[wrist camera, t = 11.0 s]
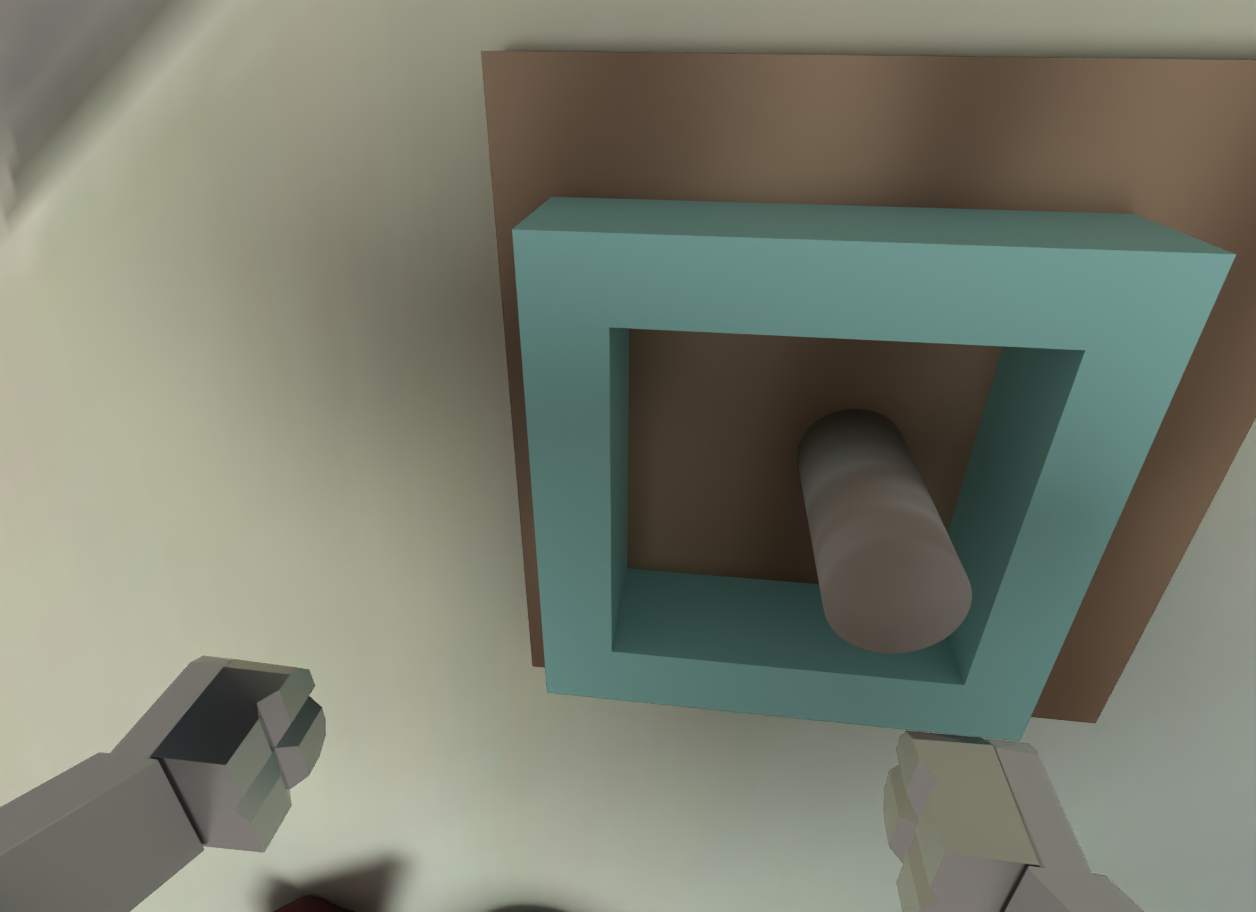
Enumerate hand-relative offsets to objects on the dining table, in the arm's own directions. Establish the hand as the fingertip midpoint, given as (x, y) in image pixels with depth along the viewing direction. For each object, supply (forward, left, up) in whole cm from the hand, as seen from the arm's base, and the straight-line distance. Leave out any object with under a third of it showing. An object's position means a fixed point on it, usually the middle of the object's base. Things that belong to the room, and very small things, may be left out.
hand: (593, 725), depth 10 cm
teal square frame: (-3, 0, -8) cm, 9 cm away
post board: (-5, 0, -10) cm, 11 cm away
